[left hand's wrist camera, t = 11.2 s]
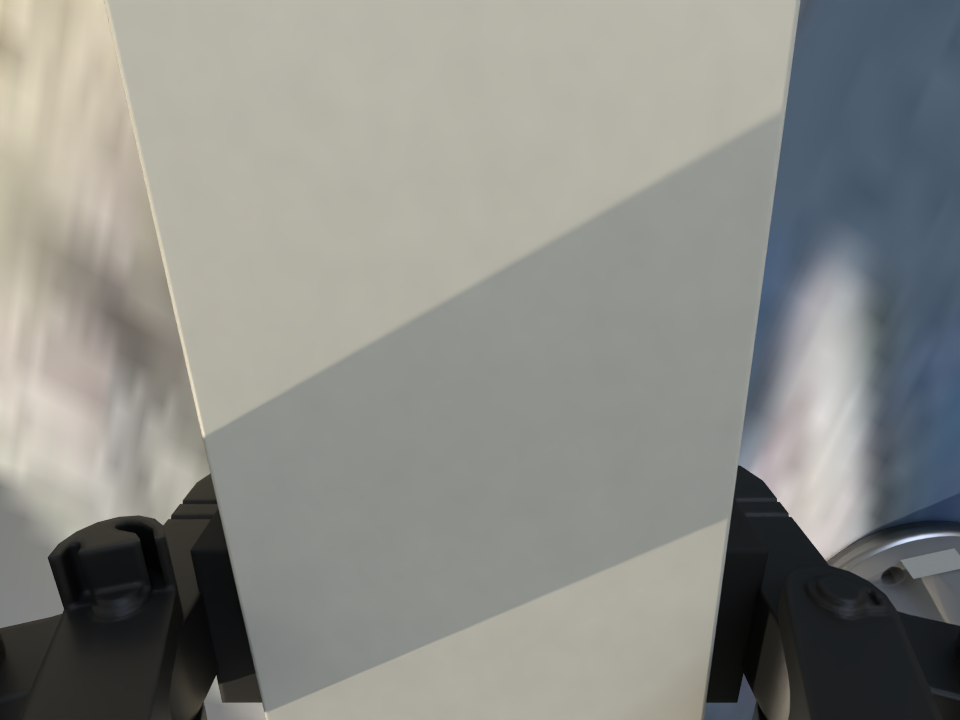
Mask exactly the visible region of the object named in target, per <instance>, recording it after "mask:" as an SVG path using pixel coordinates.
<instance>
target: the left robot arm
mask: <svg viewBox="0 0 960 720" xmlns="http://www.w3.org/2000/svg"><path fill="white" fill-rule="evenodd" d="M48 560H49V563H50V566H51V569H52V572H53V576H54V579H55V582H56V585H57V588H58V591H59V594H60V598H61V601H62V604H63V607H64V611H63V614H60V615H56V616H53V617H49V618H45V619H40V620H36V621H31V622H27V623H22V624H18V625H13V626H9V627H4V628H0V720H207V715H206V710H205V706H204V700H205V698H206V695H207V693H208V691H209V689H210V687H211V685H212V683H213V681H214V679H215V676H216V675H217V680H218V685H219V689H220V694H221V699H222V702H262V699H261V694H260V690H259V686H258V681H257V677H256V672H255V668H254V663H253V659H252V654H251V650H250V646H249V641H248V637H247V632H246V628H245V623H244V619H243V615H242V610H241V606H240V601H239V597H238V592H237V588H236V584H235V579H234V575H233V570H232V566H231V561H230V557H229V553H228V548H227V544H226V539H225V535H224V530H223V526H222V521H221V517H220V513H219V508H218V504H217V499H216V495H215V490H214V486H213V482H212V477H211V474H209V475H208V476H206V477H205V478H203V479H202V480H200V481H199V482H197V483H196V484H195V486H194V487H193V488H192V490H191V491H190V492H189V493H188V495H187V496H186V497H185V499H184V500H183V504H180V505H179V506H178V508H177V509H176V510H175V511H174V513H173V514H172V515H171V519H168V520H167V522H166V523H165V524H164V526H163V525H162V524H160V523H159V522H158V521H157V520H155V519H153V518H148V517H143V516H125V517H117V518H113V519H109V520H105V521H101V522H97V523H95V524H93V525H91V526H88V527H86V528H84V529H82V530H79V531H77V532H75V533H74V534H72V535H71V536H70V537H68V538H67V539H65V540H64V541H62V542H61V543H59V544H58V545H57V547H56V548H55V549H54V550H53V552H52V553H51V554H50V555H49V556H48ZM743 673H744V675H745V677H746V679H747V681H748V683H749V685H750V687H751V689H752V691H753V694H754V696H755V698H756V700H757V701H756V706H755V710H754V714H753V719H752V720H960V523H958V522H949V521H923V522H915V523H909V524H904V525H899V526H895V527H892V528H888V529H885V530H882V531H879V532H877V533H874V534H872V535H869V536H867V537H865V538H863V539H861V540H859V541H857V542H855V543H853V544H851V545H850V546H848V547H847V548H845V549H844V550H842V551H841V552H839V553H838V554H836V555H835V556H834V557H832V558H831V559H830V560H829V561H828V562H826V561H825V559H824V558H823V557H822V555H821V554H820V553H819V552H818V550H817V549H816V548H815V547H814V545H813V544H812V543H811V541H810V540H809V539H808V538H807V536H806V535H805V534H804V533H803V531H802V530H801V529H800V527H799V526H798V525H797V524H796V522H795V521H794V520H793V518H792V517H789V516H788V512H787V511H786V510H785V508H784V507H783V506H782V504H781V503H780V502H777V498H776V497H775V496H774V494H773V493H772V492H771V490H770V489H769V488H768V487H767V485H766V484H765V483H764V482H763V481H762V480H761V479H759V478H758V477H756V476H755V475H753V474H752V473H750V472H749V471H747V470H746V469H744V468H743V467H741V466H738V468H737V476H736V483H735V491H734V498H733V506H732V513H731V520H730V528H729V535H728V543H727V550H726V558H725V565H724V573H723V580H722V588H721V595H720V602H719V610H718V617H717V625H716V632H715V640H714V647H713V655H712V662H711V669H710V677H709V684H708V692H707V699H706V703H737V701H738V696H739V691H740V686H741V682H742V677H743Z"/></svg>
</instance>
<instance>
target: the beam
mask: <svg viewBox="0 0 960 720" xmlns="http://www.w3.org/2000/svg"><path fill="white" fill-rule="evenodd" d="M104 3H105V7H106V12H107V16H108V20H109V25H110V29H111V34H112V38H113V43H114V47H115V51H116V56H117V60H118V65H119V69H120V74H121V78H122V83H123V87H124V91H125V96H126V100H127V105H128V109H129V114H130V118H131V122H132V127H133V131H134V136H135V140H136V145H137V149H138V153H139V158H140V162H141V167H142V171H143V176H144V180H145V184H146V189H147V193H148V198H149V202H150V207H151V211H152V216H153V220H154V224H155V229H156V233H157V238H158V242H159V247H160V251H161V255H162V260H163V264H164V269H165V273H166V278H167V282H168V286H169V291H170V295H171V300H172V304H173V309H174V313H175V318H176V322H177V326H178V331H179V335H180V340H181V344H182V349H183V353H184V357H185V362H186V366H187V371H188V375H189V380H190V384H191V388H192V393H193V397H194V402H195V406H196V411H197V415H198V419H199V424H200V428H201V433H202V437H203V442H204V446H205V451H206V455H207V459H208V464H209V468H210V473H211V477H212V482H213V486H214V490H215V495H216V499H217V504H218V508H219V513H220V517H221V521H222V526H223V530H224V535H225V539H226V544H227V548H228V553H229V557H230V561H231V566H232V570H233V575H234V579H235V584H236V588H237V592H238V597H239V601H240V606H241V610H242V615H243V619H244V623H245V628H246V632H247V637H248V641H249V646H250V650H251V654H252V659H253V663H254V668H255V672H256V677H257V681H258V686H259V690H260V694H261V699H262V703H263V708H264V712H265V717H266V720H704V714H705V707H706V699H707V692H708V684H709V677H710V669H711V662H712V655H713V647H714V640H715V632H716V625H717V617H718V610H719V602H720V595H721V588H722V580H723V573H724V565H725V558H726V550H727V543H728V535H729V528H730V520H731V513H732V506H733V498H734V491H735V483H736V476H737V468H738V461H739V453H740V446H741V439H742V431H743V424H744V416H745V409H746V401H747V394H748V386H749V379H750V371H751V364H752V357H753V349H754V342H755V334H756V327H757V319H758V312H759V304H760V297H761V290H762V282H763V275H764V267H765V260H766V252H767V245H768V237H769V230H770V222H771V215H772V208H773V200H774V193H775V185H776V178H777V170H778V163H779V155H780V148H781V141H782V133H783V126H784V118H785V111H786V103H787V96H788V88H789V81H790V73H791V66H792V59H793V51H794V44H795V36H796V29H797V21H798V14H799V6H800V0H104Z"/></svg>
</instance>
